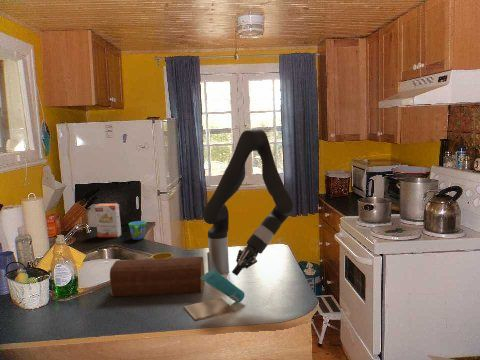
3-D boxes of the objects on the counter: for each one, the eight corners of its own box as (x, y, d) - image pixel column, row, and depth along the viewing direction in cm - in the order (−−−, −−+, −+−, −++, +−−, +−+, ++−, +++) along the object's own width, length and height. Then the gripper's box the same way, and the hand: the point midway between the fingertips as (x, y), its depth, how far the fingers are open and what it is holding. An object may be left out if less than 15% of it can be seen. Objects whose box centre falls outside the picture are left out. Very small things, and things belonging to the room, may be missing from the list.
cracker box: (97, 237, 291) (94, 205, 288) (101, 235, 297) (98, 203, 294) (117, 237, 288) (114, 205, 285) (121, 235, 294) (119, 203, 291)
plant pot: (151, 273, 219) (149, 254, 217) (172, 270, 222) (171, 251, 220) (154, 280, 209) (152, 260, 208) (176, 277, 212) (174, 257, 211)
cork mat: (195, 320, 166) (195, 319, 166) (183, 307, 178) (183, 306, 178) (234, 310, 173) (234, 309, 173) (221, 299, 185) (221, 297, 185)
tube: (246, 287, 182) (213, 263, 173) (248, 296, 178) (214, 271, 169) (232, 298, 184) (199, 274, 175) (234, 307, 180) (200, 283, 171)
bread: (119, 285, 206) (117, 256, 204) (205, 281, 206) (203, 252, 204) (110, 298, 191) (107, 268, 189) (202, 294, 191) (200, 263, 189)
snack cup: (132, 235, 292) (131, 220, 290) (149, 234, 292) (147, 219, 290) (127, 242, 276) (125, 226, 275) (144, 241, 276) (143, 225, 275)
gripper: (246, 230, 187) (221, 264, 183) (262, 237, 175) (235, 273, 171) (258, 240, 190) (233, 274, 186) (274, 248, 178) (248, 284, 174)
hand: (234, 274), depth 179 cm, fingers closed
